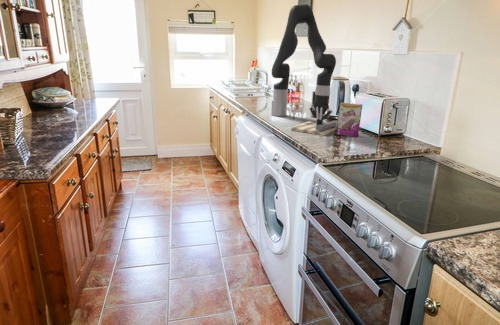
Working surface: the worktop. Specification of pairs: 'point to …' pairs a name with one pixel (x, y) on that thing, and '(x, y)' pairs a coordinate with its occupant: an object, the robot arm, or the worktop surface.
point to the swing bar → (326, 125)
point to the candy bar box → (349, 119)
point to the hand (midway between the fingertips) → (319, 126)
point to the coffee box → (313, 102)
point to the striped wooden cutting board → (312, 128)
